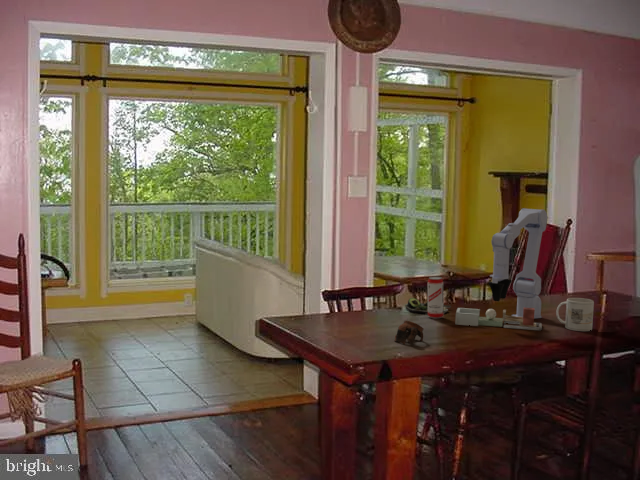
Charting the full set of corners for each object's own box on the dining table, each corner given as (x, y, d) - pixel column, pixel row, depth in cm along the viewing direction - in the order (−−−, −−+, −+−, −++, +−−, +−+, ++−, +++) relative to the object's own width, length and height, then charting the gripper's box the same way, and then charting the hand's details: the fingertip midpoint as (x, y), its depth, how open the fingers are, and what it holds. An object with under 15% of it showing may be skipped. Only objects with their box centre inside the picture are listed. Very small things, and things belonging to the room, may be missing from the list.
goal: (479, 320, 303) (479, 309, 302) (477, 326, 292) (478, 314, 292) (457, 318, 305) (457, 307, 305) (455, 324, 294) (455, 312, 294)
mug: (577, 332, 286) (579, 303, 285) (553, 325, 296) (555, 297, 295) (597, 330, 291) (599, 301, 290) (573, 323, 301) (575, 296, 300)
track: (541, 325, 296) (541, 320, 296) (541, 330, 287) (542, 325, 287) (477, 320, 302) (478, 315, 302) (476, 325, 293) (476, 320, 293)
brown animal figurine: (388, 340, 267) (398, 319, 269) (412, 352, 268) (421, 331, 270) (399, 339, 255) (409, 317, 257) (424, 352, 257) (433, 329, 259)
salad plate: (445, 306, 333) (445, 296, 332) (457, 315, 315) (458, 304, 315) (401, 306, 330) (401, 296, 330) (411, 315, 312) (412, 303, 312)
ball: (490, 317, 299) (491, 307, 299) (498, 319, 296) (498, 309, 295) (483, 318, 297) (483, 308, 297) (490, 320, 294) (491, 310, 293)
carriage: (535, 325, 295) (536, 307, 295) (536, 328, 289) (537, 310, 289) (502, 322, 298) (503, 305, 298) (502, 325, 292) (503, 308, 292)
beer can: (443, 319, 303) (442, 279, 300) (427, 318, 304) (426, 279, 302) (444, 315, 309) (443, 276, 306) (428, 314, 310) (428, 276, 308)
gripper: (496, 261, 301) (495, 295, 303) (484, 265, 289) (483, 301, 290) (514, 263, 298) (512, 297, 299) (503, 267, 285) (501, 303, 287)
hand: (499, 299), depth 295 cm, fingers open, 7 cm apart
